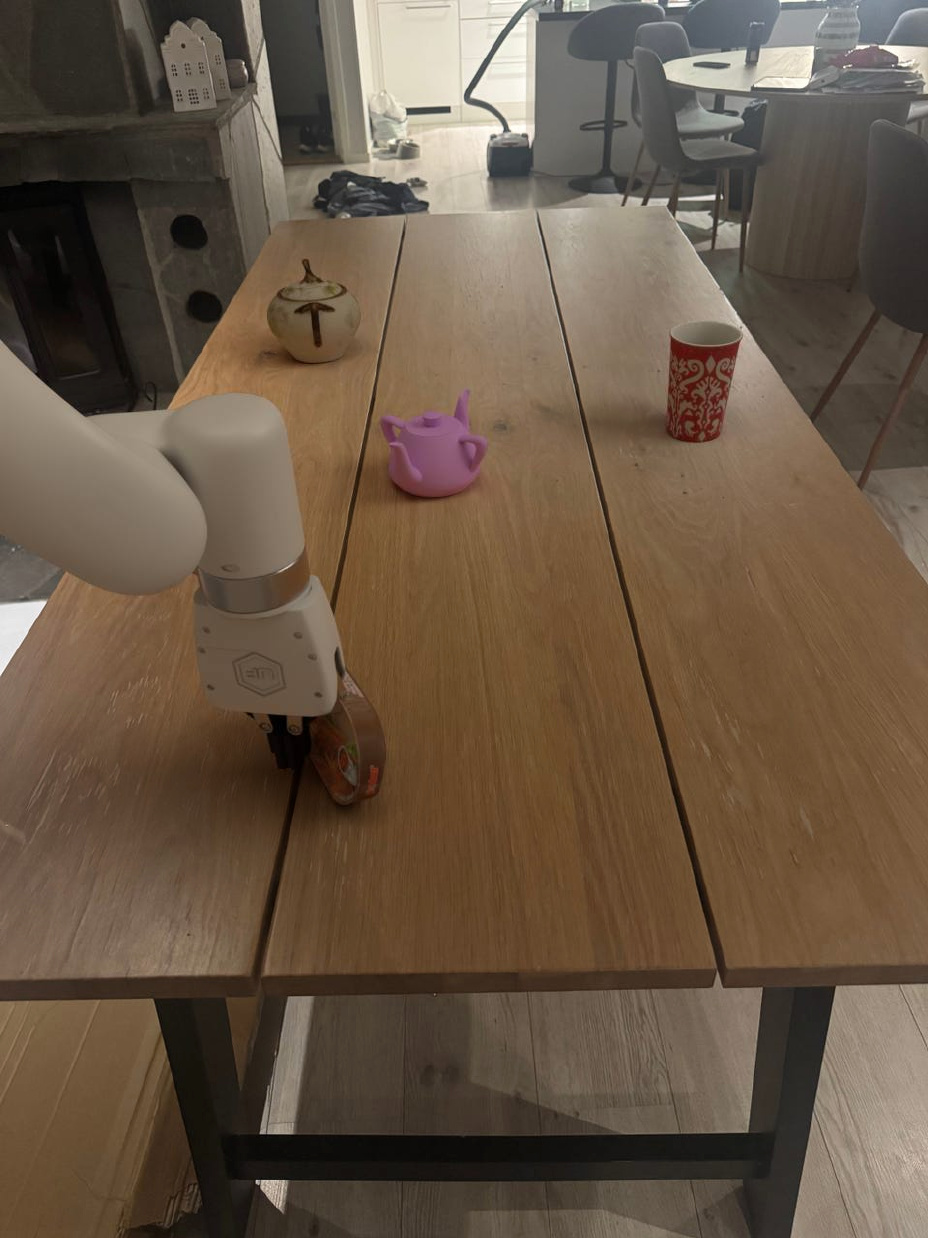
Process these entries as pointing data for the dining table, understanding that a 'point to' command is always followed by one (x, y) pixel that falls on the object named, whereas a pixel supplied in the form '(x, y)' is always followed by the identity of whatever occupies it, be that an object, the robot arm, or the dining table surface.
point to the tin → (349, 747)
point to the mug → (700, 378)
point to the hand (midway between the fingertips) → (293, 757)
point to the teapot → (434, 451)
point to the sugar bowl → (314, 318)
